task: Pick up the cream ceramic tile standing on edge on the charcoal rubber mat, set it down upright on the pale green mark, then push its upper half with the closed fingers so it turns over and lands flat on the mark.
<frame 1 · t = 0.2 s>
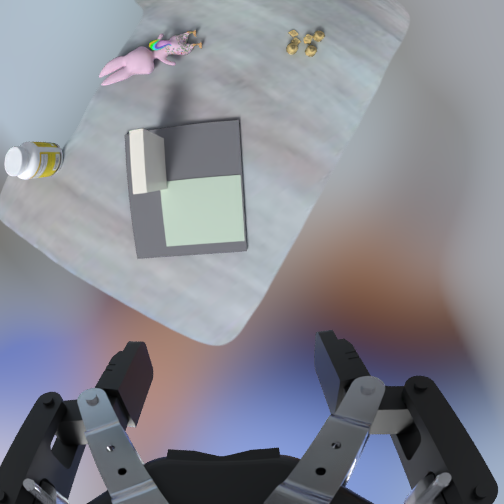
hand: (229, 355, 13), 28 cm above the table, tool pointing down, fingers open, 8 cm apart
mat: (184, 190, 38), on the table
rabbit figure: (152, 61, 33), on the table
set of tan pieces: (302, 46, 33), on the table
tile: (159, 164, 36), point 1 cm above the table, touching mat
supplement bottle: (52, 159, 35), on the table
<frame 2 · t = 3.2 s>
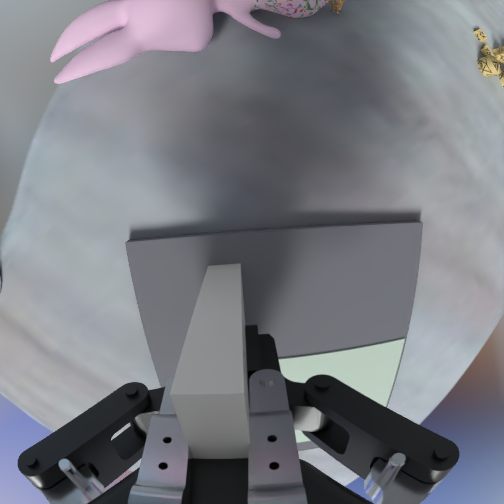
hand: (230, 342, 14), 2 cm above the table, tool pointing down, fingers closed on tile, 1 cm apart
mat: (286, 371, 17), on the table
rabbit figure: (202, 24, 11), on the table
set of tan pieces: (489, 64, 12), on the table
tile: (230, 326, 15), point 1 cm above the table, touching gripper, mat
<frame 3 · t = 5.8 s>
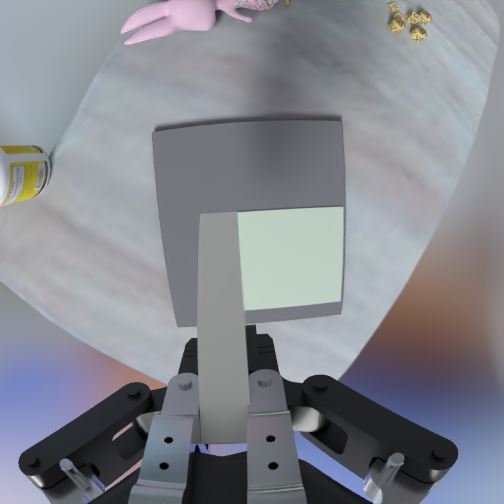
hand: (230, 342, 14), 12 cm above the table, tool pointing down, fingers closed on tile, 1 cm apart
mat: (254, 227, 25), on the table
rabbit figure: (208, 17, 19), on the table
set of tan pieces: (403, 26, 20), on the table
tile: (225, 256, 15), point 10 cm above the table, tilted 41°, touching gripper
supplement bottle: (35, 171, 22), on the table
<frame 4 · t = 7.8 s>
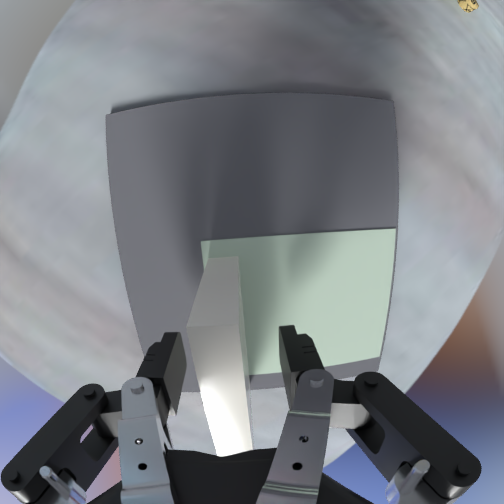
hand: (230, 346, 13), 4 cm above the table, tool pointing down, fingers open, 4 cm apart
mat: (262, 260, 16), on the table
tile: (219, 282, 12), point 4 cm above the table, tilted 90°, touching mat
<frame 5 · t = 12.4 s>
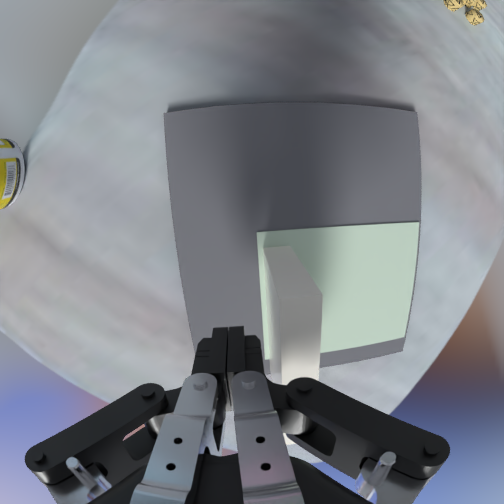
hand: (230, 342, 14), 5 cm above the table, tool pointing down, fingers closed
mat: (309, 250, 18), on the table
set of tan pieces: (457, 8, 13), on the table
tile: (286, 265, 14), point 4 cm above the table, tilted 90°, touching gripper, mat
supplement bottle: (7, 173, 15), on the table
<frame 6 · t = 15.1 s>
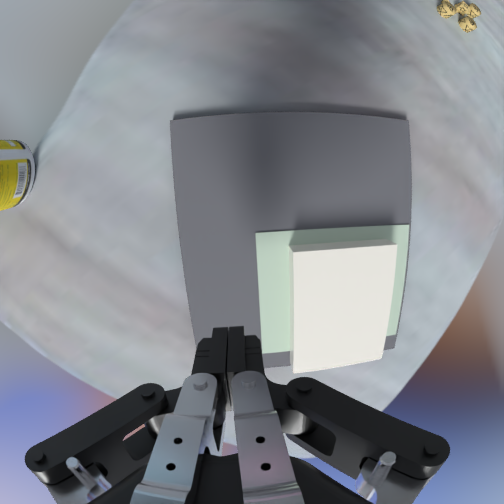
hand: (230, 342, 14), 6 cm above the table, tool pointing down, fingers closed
mat: (304, 250, 19), on the table
set of tan pieces: (451, 15, 14), on the table
tile: (344, 244, 18), point 1 cm above the table, tilted 90°, touching mat
supplement bottle: (16, 173, 16), on the table
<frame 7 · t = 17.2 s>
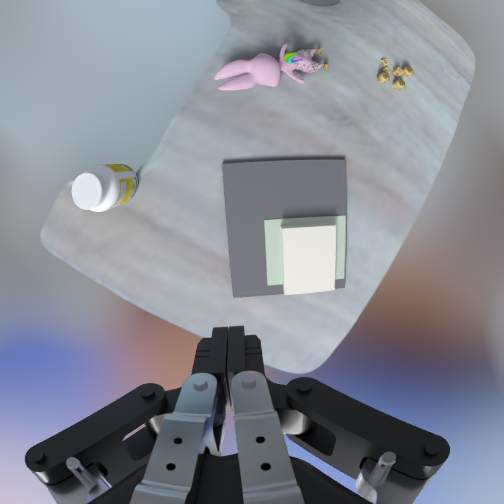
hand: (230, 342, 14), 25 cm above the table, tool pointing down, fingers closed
mat: (288, 229, 38), on the table
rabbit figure: (272, 72, 32), on the table
set of tan pieces: (390, 77, 33), on the table
tile: (308, 225, 36), point 1 cm above the table, tilted 90°, touching mat
supplement bottle: (121, 184, 35), on the table
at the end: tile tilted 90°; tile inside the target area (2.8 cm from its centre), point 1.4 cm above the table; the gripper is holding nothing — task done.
